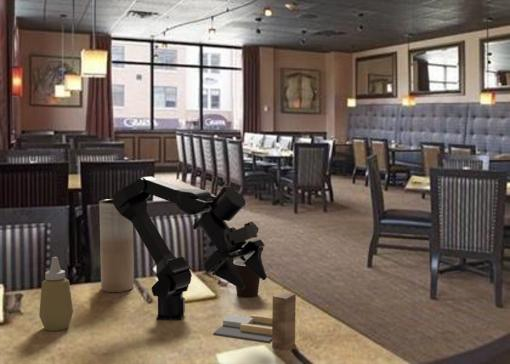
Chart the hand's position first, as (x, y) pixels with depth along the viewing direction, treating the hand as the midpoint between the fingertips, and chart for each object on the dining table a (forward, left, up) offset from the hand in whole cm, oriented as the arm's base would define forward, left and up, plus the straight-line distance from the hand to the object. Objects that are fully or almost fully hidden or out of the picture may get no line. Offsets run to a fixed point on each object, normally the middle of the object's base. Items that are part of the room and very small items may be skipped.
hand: (254, 283), depth 133 cm
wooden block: (+7, -4, -13) cm, 16 cm away
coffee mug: (-3, +37, -14) cm, 39 cm away
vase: (-44, +40, -14) cm, 61 cm away
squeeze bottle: (-50, +5, -14) cm, 52 cm away
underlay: (-1, +5, -13) cm, 14 cm away
